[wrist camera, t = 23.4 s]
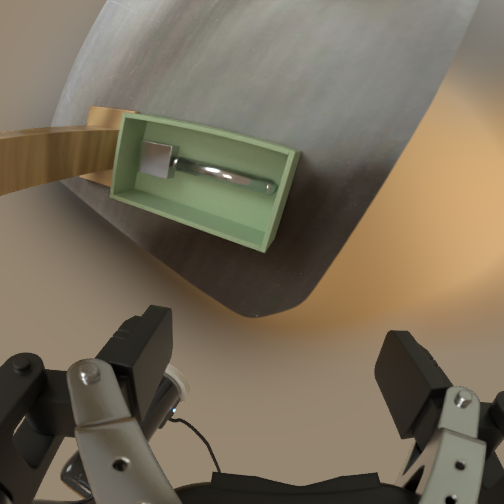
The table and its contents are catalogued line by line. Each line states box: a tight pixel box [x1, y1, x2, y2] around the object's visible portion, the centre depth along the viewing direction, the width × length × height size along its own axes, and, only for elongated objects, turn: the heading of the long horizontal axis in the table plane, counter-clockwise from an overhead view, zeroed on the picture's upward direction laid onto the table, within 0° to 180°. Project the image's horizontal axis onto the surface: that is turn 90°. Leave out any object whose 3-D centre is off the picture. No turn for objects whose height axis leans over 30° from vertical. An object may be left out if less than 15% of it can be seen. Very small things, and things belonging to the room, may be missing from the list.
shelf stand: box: [0, 106, 140, 196], centre depth 27 cm, size 12×12×30 cm
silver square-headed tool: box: [137, 140, 277, 195], centre depth 36 cm, size 19×4×2 cm, turn 76°
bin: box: [110, 113, 301, 253], centre depth 35 cm, size 22×12×6 cm, turn 74°
